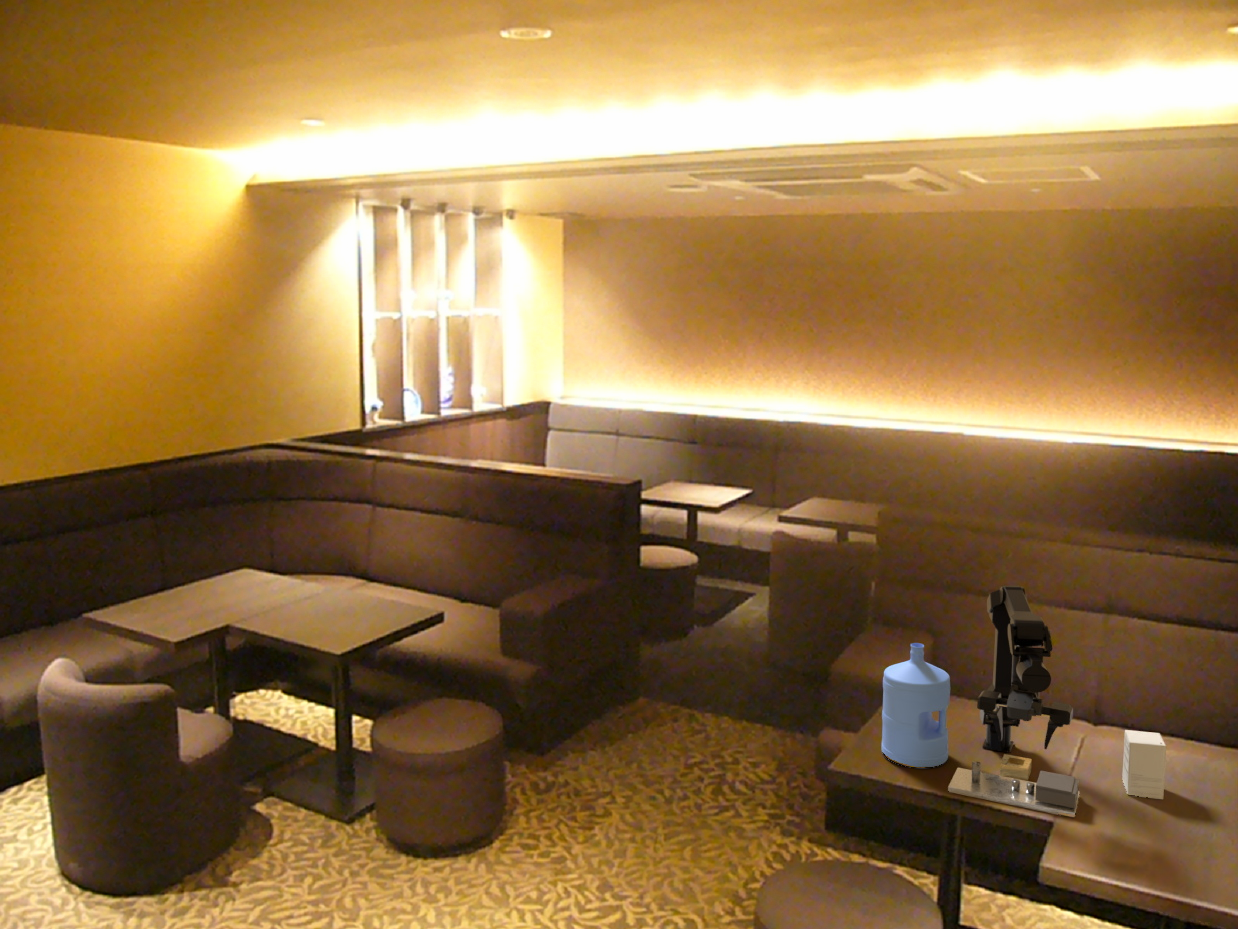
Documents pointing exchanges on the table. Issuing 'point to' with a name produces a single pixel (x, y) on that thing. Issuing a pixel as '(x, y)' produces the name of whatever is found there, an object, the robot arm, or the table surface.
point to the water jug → (915, 711)
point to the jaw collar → (1015, 767)
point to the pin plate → (1002, 790)
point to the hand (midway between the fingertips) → (1023, 744)
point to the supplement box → (1144, 764)
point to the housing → (1057, 789)
